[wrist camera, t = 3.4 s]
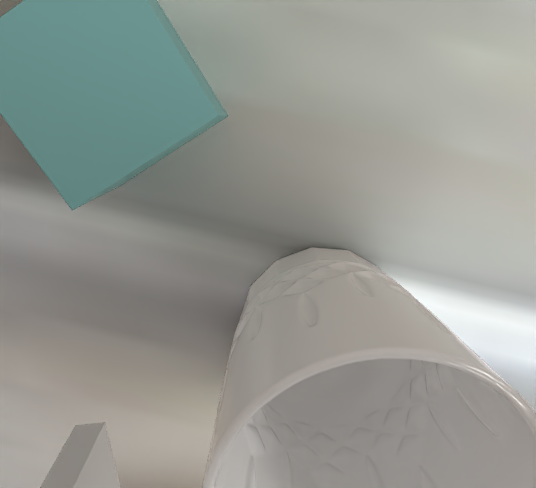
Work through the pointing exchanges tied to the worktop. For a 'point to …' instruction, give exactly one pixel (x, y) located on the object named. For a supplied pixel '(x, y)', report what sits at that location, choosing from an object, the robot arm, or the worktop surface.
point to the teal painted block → (99, 90)
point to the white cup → (360, 390)
